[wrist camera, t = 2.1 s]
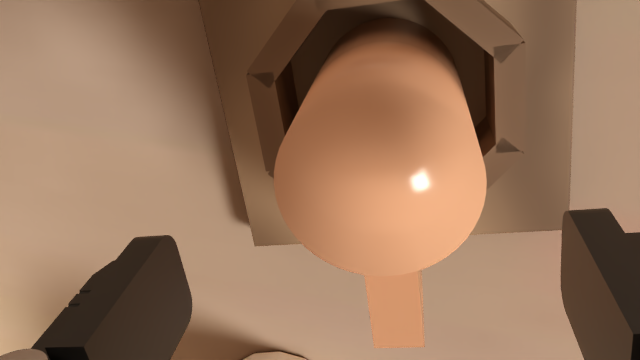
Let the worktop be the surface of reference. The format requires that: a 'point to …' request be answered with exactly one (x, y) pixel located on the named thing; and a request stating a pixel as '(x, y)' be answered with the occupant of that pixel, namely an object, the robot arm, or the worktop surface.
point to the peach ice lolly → (384, 168)
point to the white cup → (273, 356)
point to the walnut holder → (473, 69)
